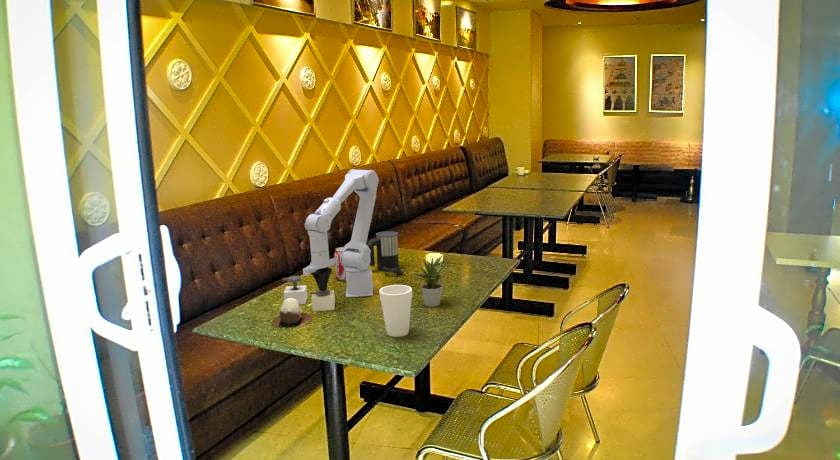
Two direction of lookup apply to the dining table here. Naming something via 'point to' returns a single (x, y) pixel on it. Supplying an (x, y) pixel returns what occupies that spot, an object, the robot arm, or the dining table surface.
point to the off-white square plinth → (323, 302)
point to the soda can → (339, 265)
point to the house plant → (431, 282)
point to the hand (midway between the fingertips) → (322, 290)
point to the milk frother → (385, 251)
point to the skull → (291, 314)
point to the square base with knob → (296, 293)
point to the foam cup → (396, 308)
